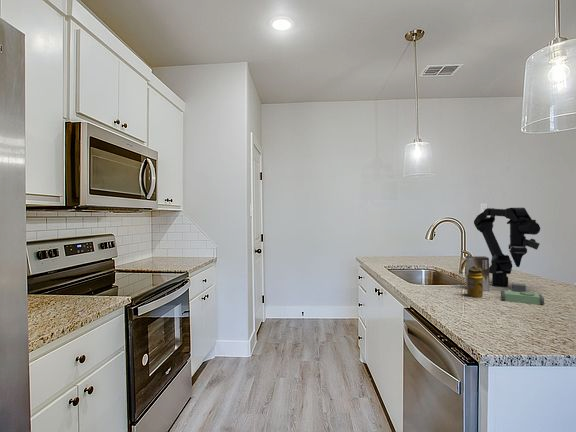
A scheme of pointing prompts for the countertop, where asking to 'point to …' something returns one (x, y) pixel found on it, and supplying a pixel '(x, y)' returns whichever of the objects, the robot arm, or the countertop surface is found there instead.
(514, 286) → the stepped grey block
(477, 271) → the condiment
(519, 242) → the robot arm
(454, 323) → the countertop surface
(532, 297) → the green toy cart
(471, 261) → the coffee box
